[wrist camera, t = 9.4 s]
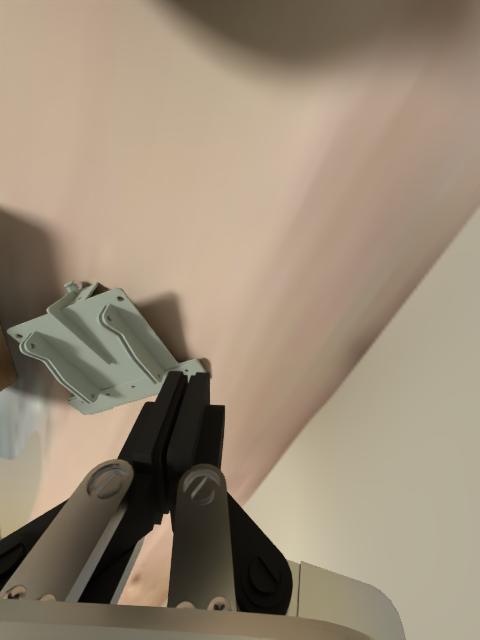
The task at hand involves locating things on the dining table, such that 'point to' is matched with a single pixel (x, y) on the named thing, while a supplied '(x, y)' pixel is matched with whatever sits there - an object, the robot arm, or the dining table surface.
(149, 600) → the dining table surface
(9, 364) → the block
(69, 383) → the metal bracket
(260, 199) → the dining table surface
